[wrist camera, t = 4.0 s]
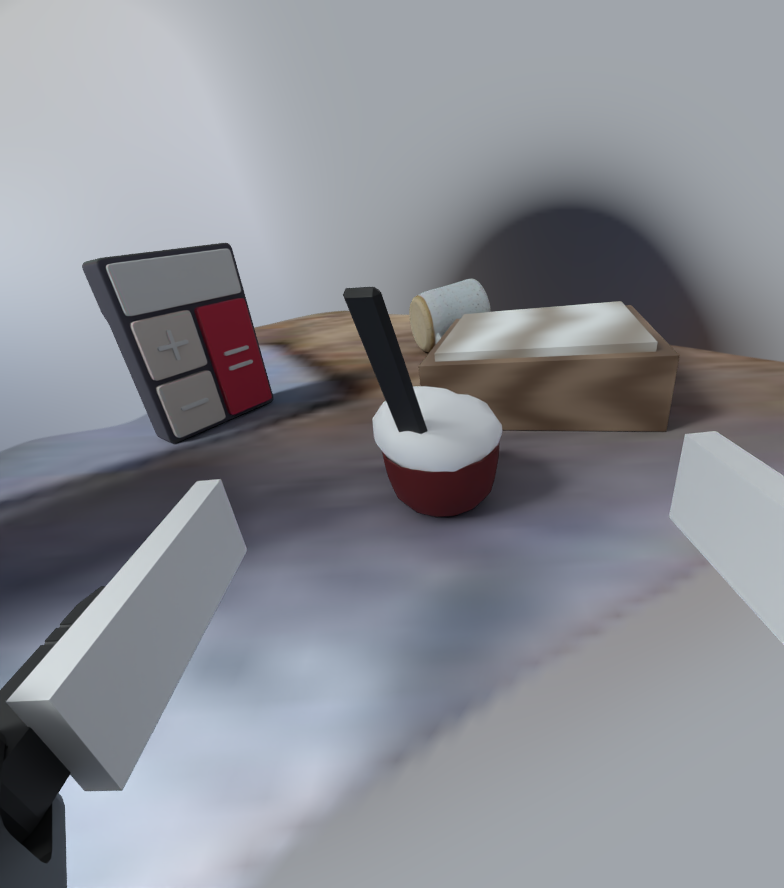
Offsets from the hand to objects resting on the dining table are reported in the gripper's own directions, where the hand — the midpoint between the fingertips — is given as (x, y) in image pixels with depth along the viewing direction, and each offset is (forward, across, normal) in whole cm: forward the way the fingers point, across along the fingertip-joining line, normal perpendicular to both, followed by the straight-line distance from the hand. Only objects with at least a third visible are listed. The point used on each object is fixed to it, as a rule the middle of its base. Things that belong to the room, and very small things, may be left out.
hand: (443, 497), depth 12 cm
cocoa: (+10, 0, -7) cm, 12 cm away
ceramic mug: (+42, +4, -7) cm, 42 cm away
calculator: (+26, -20, -7) cm, 34 cm away
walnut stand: (+25, +9, -7) cm, 27 cm away
